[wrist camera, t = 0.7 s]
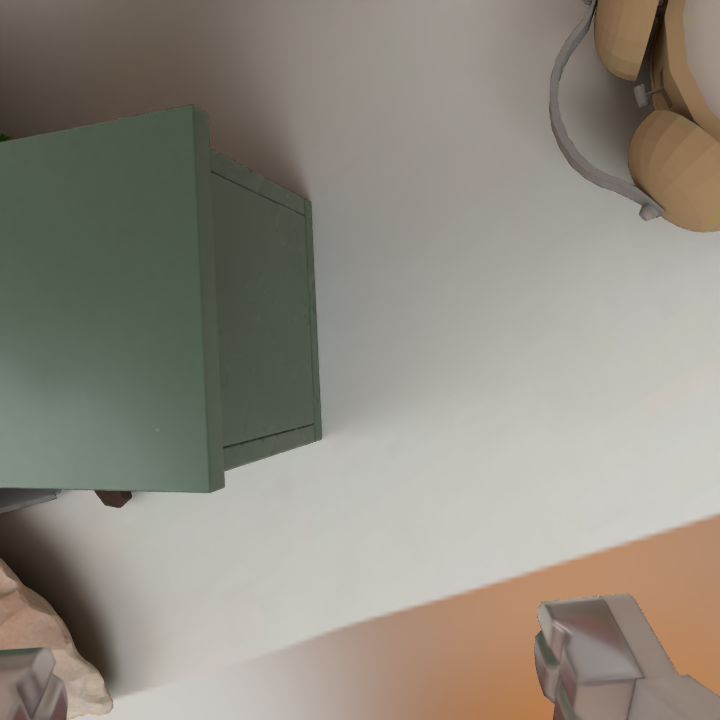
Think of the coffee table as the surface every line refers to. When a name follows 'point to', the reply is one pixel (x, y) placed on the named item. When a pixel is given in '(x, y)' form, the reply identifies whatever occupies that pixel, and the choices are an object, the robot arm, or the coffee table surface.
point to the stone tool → (49, 644)
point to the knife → (52, 497)
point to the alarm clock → (660, 105)
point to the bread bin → (264, 314)
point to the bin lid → (110, 308)
